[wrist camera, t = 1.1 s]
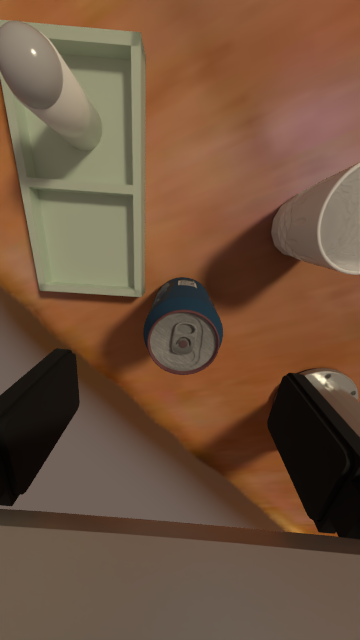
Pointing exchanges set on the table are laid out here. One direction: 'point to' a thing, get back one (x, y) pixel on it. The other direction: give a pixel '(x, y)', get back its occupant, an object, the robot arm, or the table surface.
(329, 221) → the white cup
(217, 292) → the table surface
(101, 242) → the caddy
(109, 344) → the table surface
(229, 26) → the table surface
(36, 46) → the shaker
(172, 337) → the soda can
